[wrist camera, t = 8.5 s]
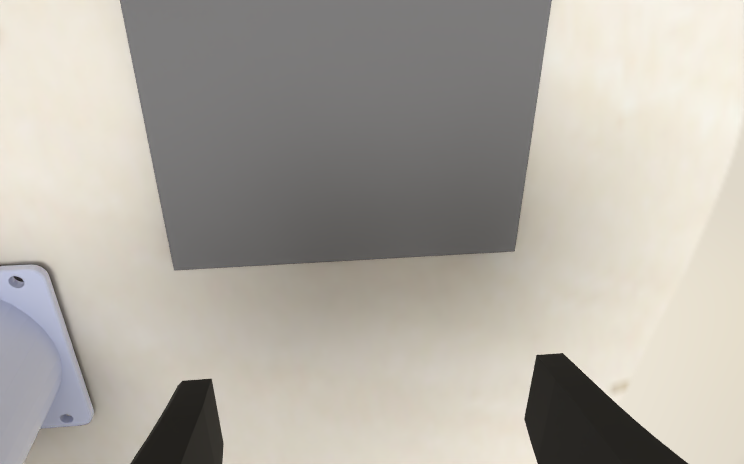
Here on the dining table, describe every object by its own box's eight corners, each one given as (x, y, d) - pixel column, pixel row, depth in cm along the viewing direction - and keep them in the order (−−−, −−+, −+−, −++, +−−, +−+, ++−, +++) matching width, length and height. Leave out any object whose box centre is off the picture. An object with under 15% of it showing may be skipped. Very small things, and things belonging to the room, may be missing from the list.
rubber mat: (176, 264, 22) (174, 270, 22) (95, -144, 16) (90, -145, 15) (511, 245, 24) (514, 251, 23) (566, -141, 17) (572, -141, 17)
